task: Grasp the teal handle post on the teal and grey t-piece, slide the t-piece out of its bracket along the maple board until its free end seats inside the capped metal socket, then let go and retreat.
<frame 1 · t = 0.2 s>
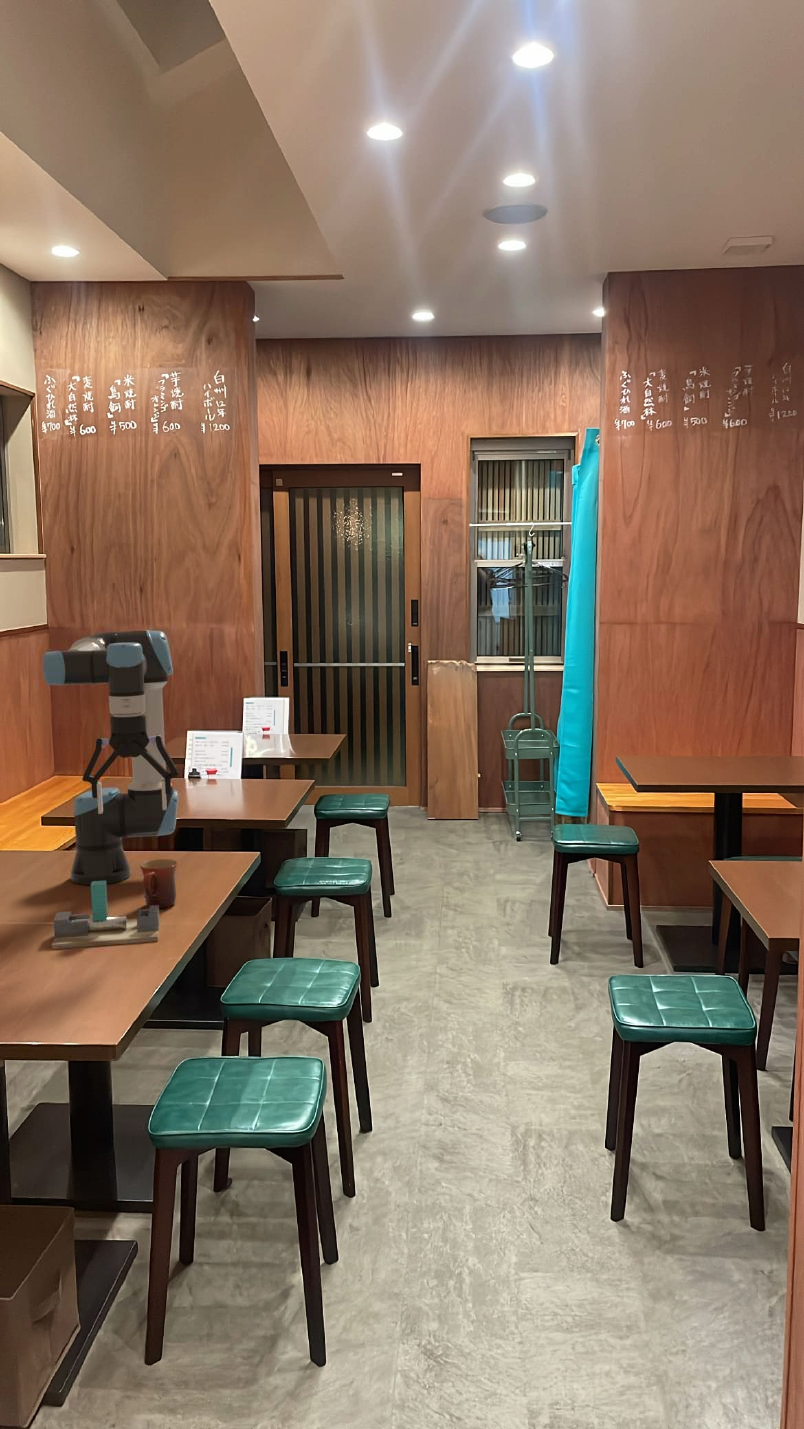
hand: (132, 810, 234), 28 cm above the table, fingers open, 13 cm apart
board: (108, 934, 237), on the table
bracket: (72, 924, 235), on the board, point 3 cm above the table
socket: (148, 918, 238), on the board, point 3 cm above the table
mug: (158, 907, 256), on the table
teal and grey t-piece: (90, 907, 235), point 7 cm above the table, slide at 0.0 cm
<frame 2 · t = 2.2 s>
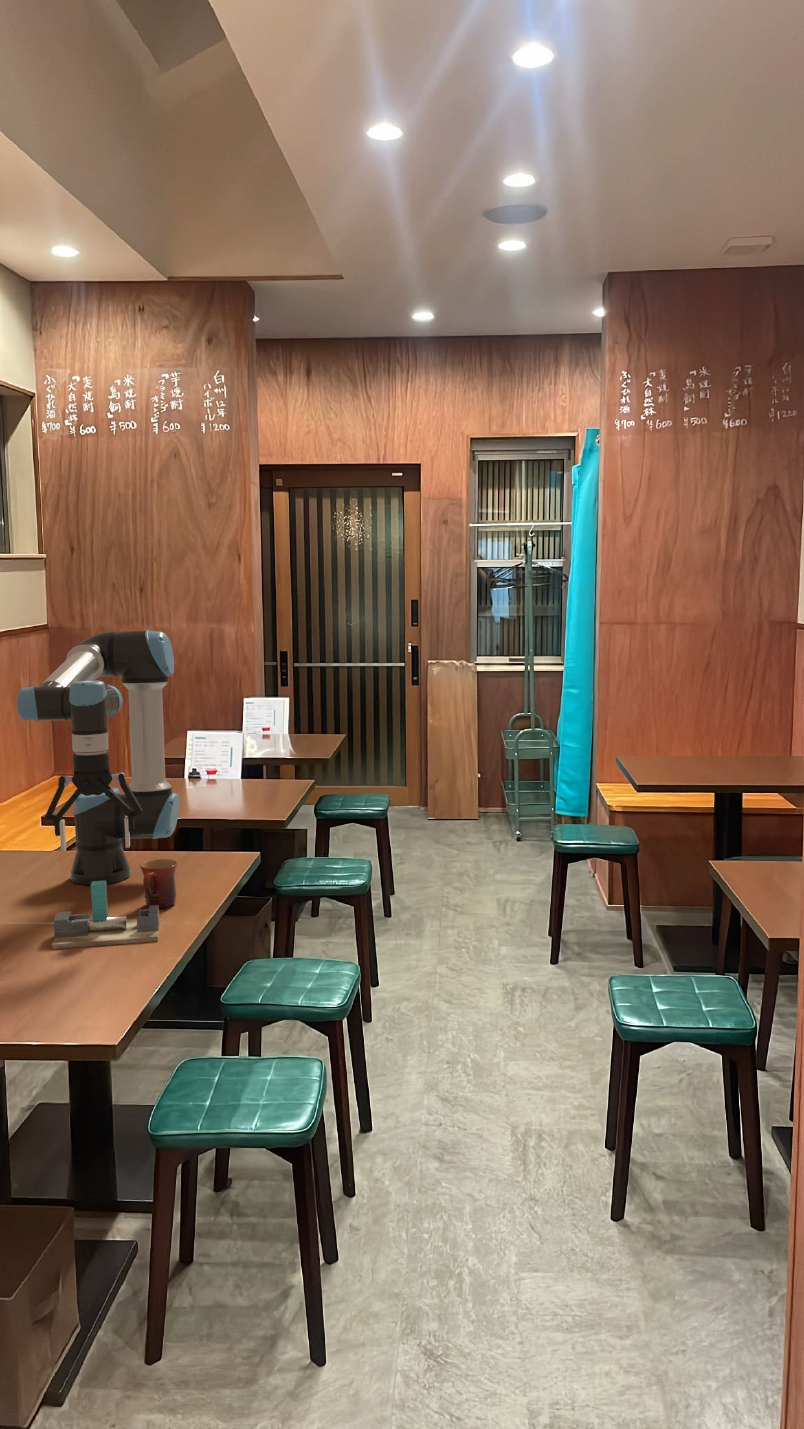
hand: (96, 848, 234), 20 cm above the table, fingers open, 13 cm apart
nothing on the table moved.
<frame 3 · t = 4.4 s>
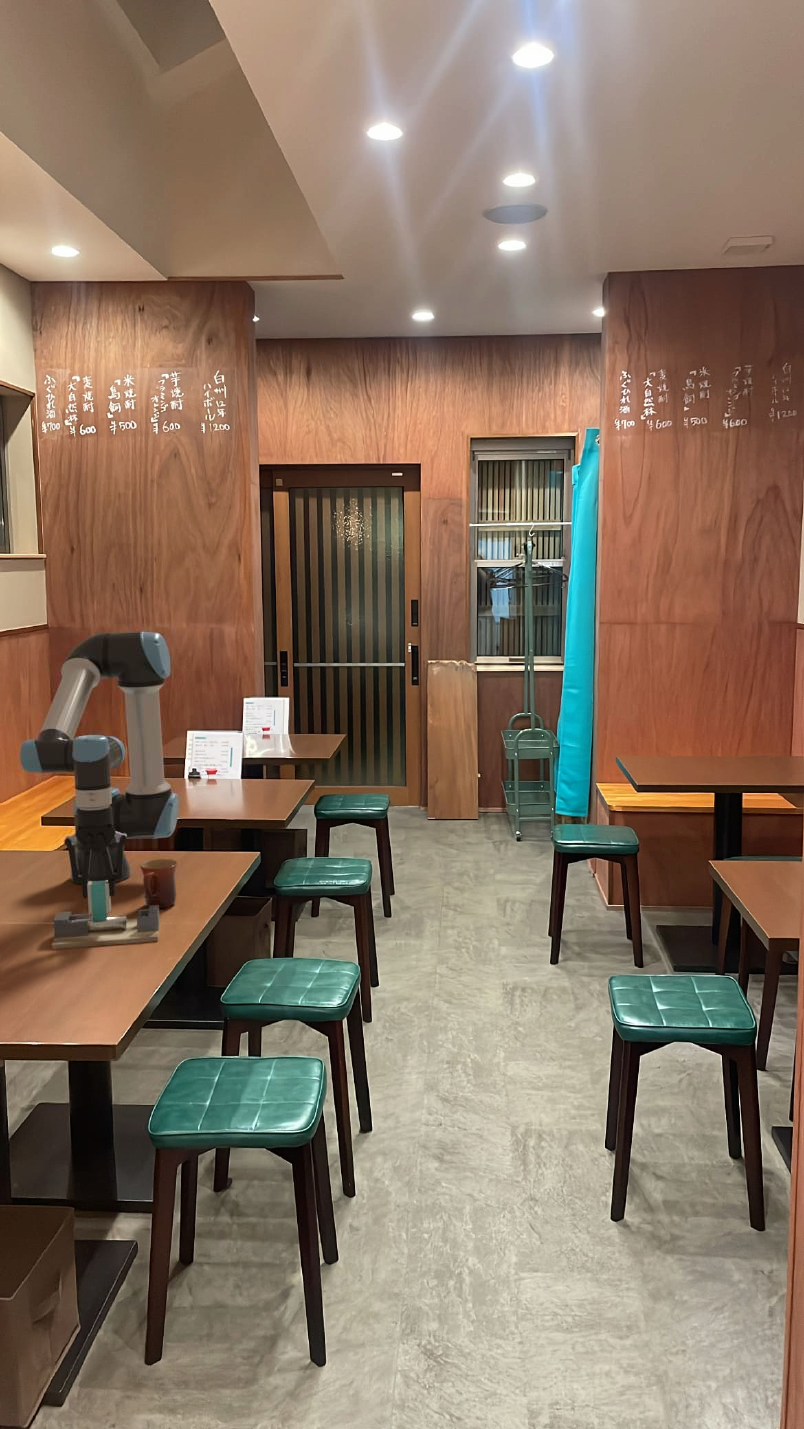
hand: (100, 910, 236), 6 cm above the table, fingers closed on teal and grey t-piece, 3 cm apart
teal and grey t-piece: (90, 907, 235), point 7 cm above the table, slide at 0.0 cm, touching gripper
everything else where it was.
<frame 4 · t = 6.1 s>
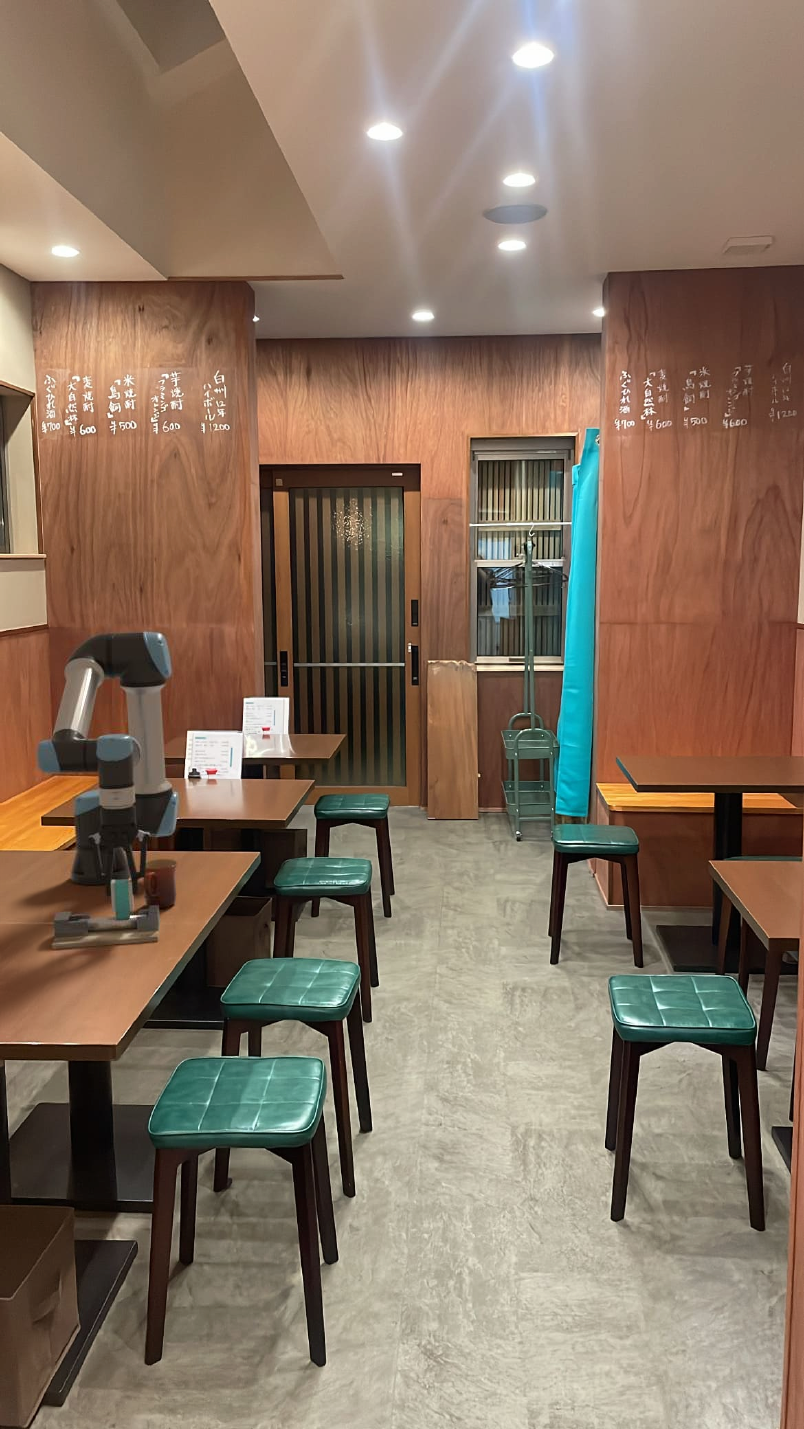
hand: (123, 909, 237), 6 cm above the table, fingers closed on teal and grey t-piece, 3 cm apart
teal and grey t-piece: (113, 905, 236), point 7 cm above the table, slide at 4.9 cm, touching gripper
everything else where it was.
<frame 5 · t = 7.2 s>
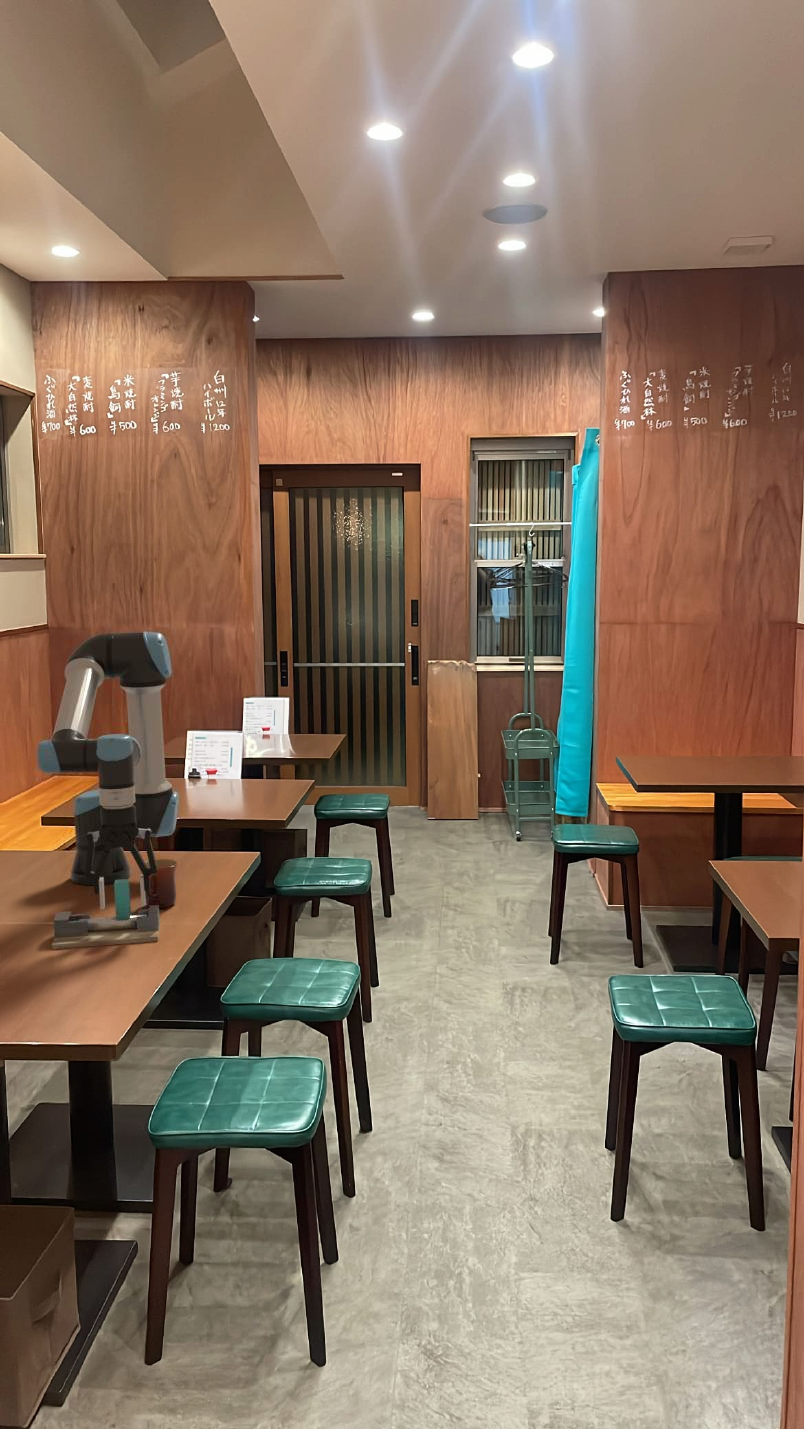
hand: (123, 906, 237), 6 cm above the table, fingers open, 8 cm apart
teal and grey t-piece: (113, 905, 236), point 7 cm above the table, slide at 5.0 cm
everything else where it was.
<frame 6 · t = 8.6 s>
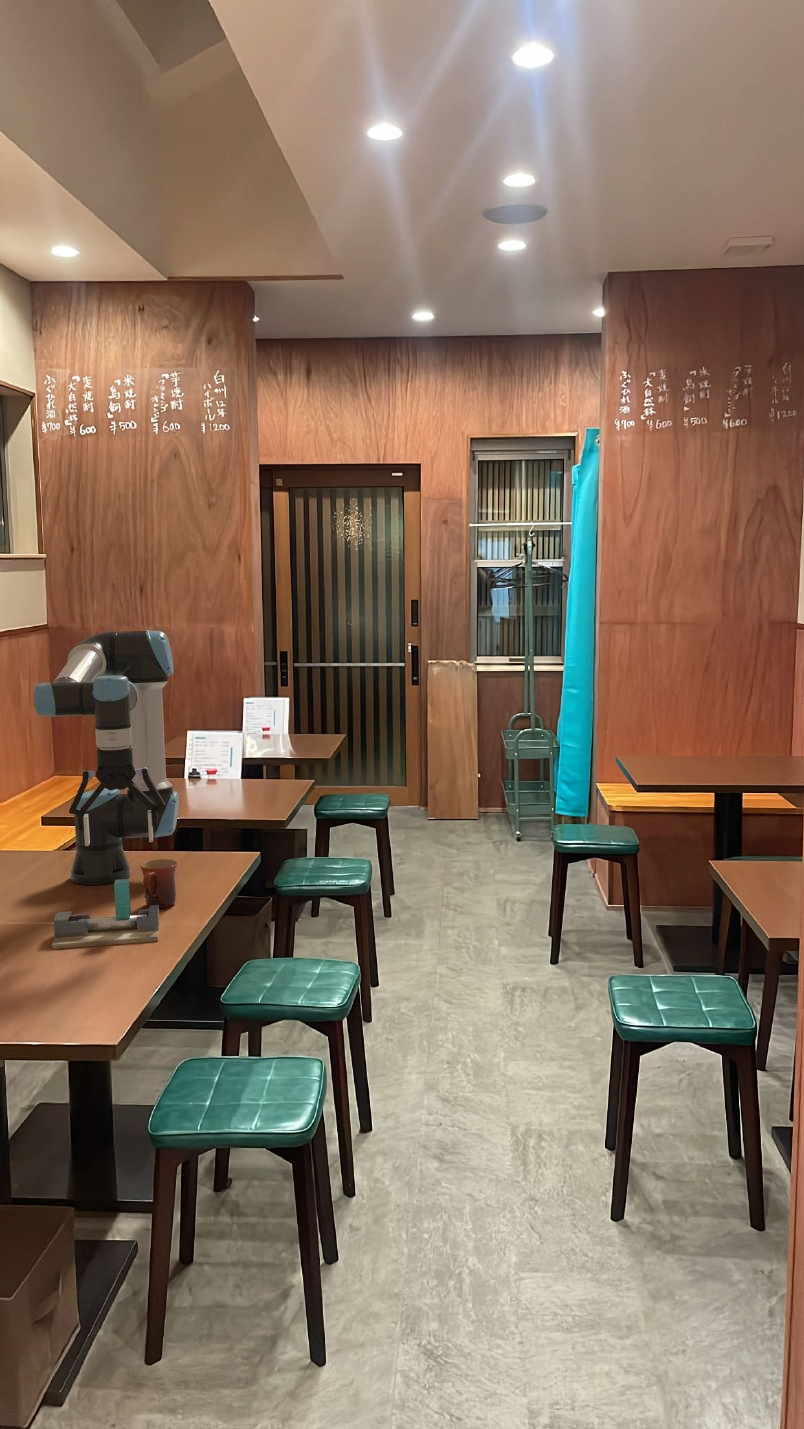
hand: (119, 842, 235), 21 cm above the table, fingers open, 13 cm apart
nothing on the table moved.
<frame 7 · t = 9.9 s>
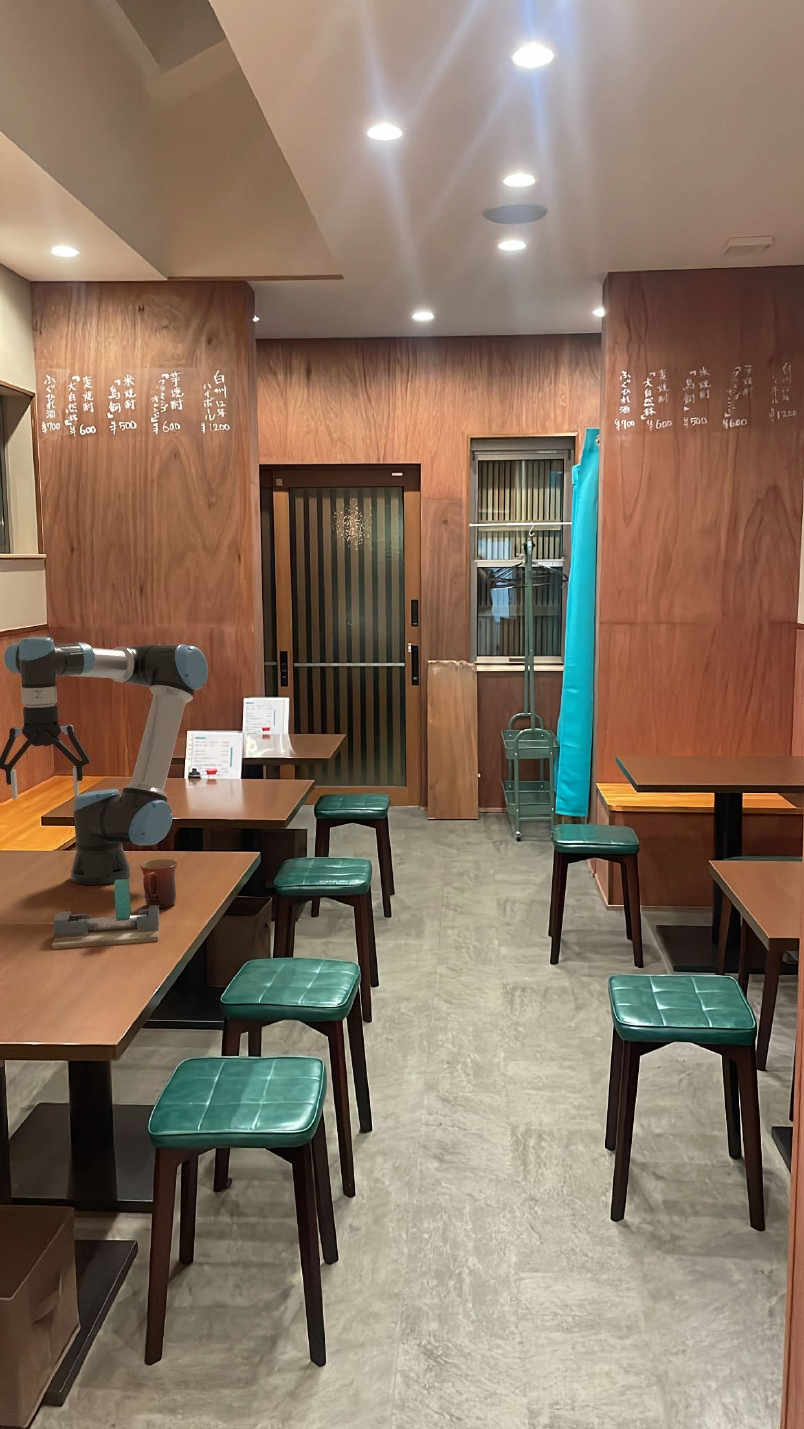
hand: (46, 796, 246), 29 cm above the table, fingers open, 13 cm apart
nothing on the table moved.
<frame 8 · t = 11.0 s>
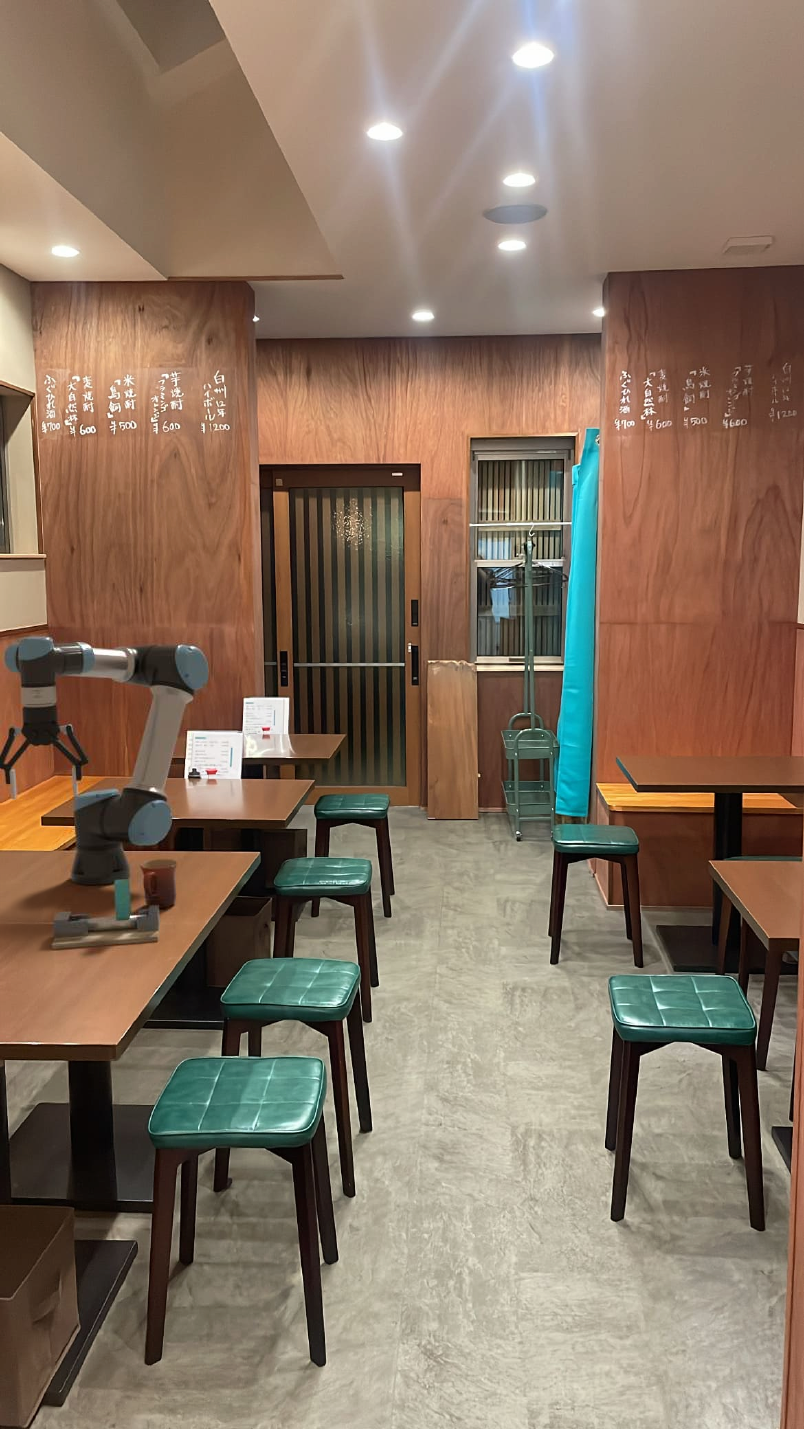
hand: (45, 796, 246), 29 cm above the table, fingers open, 13 cm apart
nothing on the table moved.
at the end: teal and grey t-piece slide at 5.0 cm; the gripper is holding nothing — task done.
